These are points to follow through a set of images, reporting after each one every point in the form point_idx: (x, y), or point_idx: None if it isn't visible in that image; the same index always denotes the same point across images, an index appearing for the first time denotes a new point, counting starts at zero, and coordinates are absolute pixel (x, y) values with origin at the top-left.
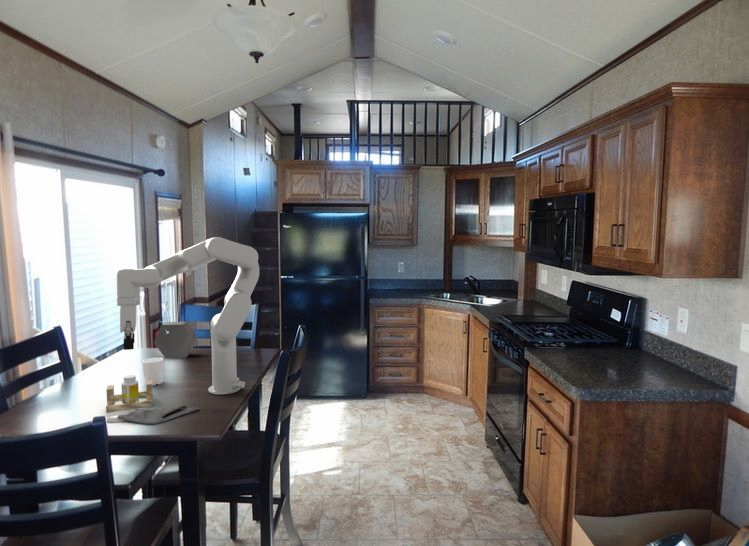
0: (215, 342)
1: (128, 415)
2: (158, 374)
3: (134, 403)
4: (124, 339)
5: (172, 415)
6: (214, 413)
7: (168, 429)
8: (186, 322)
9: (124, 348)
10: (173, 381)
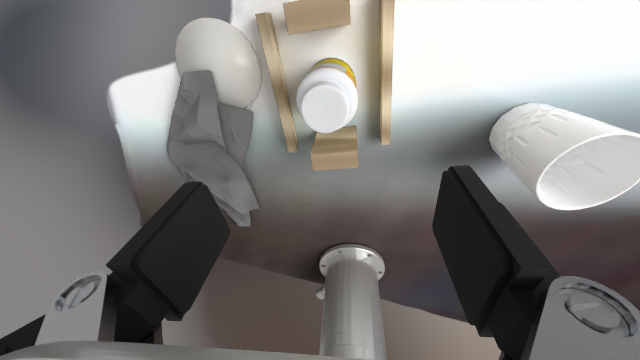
0: None
1: (195, 101)
2: (506, 164)
3: (278, 106)
4: (119, 265)
5: None
6: (226, 241)
7: (152, 180)
8: None
9: (185, 190)
10: (491, 182)
